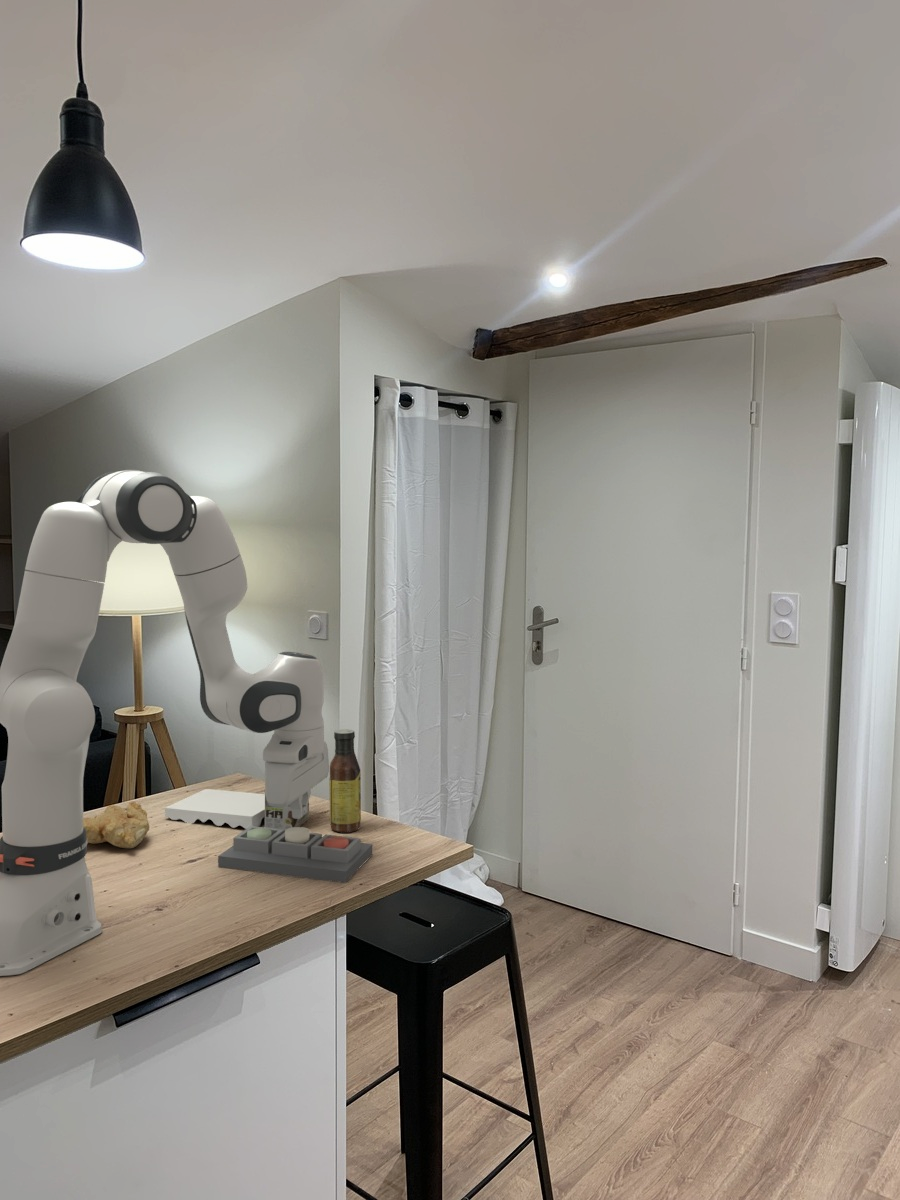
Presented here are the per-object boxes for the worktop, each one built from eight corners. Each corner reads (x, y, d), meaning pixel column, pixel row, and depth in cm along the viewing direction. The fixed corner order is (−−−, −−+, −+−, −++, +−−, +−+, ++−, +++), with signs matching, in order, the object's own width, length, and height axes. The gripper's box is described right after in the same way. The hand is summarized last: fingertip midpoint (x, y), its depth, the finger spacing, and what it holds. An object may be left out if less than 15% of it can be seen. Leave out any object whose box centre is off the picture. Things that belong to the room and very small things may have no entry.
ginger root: (112, 858, 163) (105, 812, 163) (55, 861, 171) (49, 818, 171) (179, 835, 176) (172, 794, 177) (123, 840, 184) (117, 800, 185)
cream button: (303, 848, 164) (303, 836, 164) (280, 845, 165) (280, 833, 165) (313, 840, 168) (313, 828, 168) (290, 837, 169) (291, 826, 169)
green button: (264, 849, 166) (264, 837, 166) (242, 846, 167) (242, 834, 167) (275, 841, 170) (275, 829, 170) (253, 838, 171) (253, 827, 171)
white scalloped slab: (165, 824, 188) (252, 833, 182) (164, 807, 187) (251, 816, 181) (205, 803, 202) (287, 811, 196) (205, 788, 202) (287, 796, 196)
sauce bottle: (366, 830, 184) (367, 732, 182) (338, 836, 180) (339, 736, 179) (350, 821, 189) (352, 726, 187) (323, 826, 186) (324, 729, 184)
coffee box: (294, 832, 182) (294, 752, 180) (263, 830, 183) (263, 750, 181) (310, 818, 190) (310, 741, 189) (280, 815, 192) (281, 739, 190)
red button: (343, 858, 162) (343, 846, 162) (319, 855, 163) (320, 843, 163) (351, 850, 166) (352, 838, 166) (329, 847, 168) (329, 835, 167)
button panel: (345, 882, 157) (345, 858, 157) (218, 866, 163) (218, 843, 163) (372, 854, 171) (372, 832, 170) (253, 840, 177) (253, 819, 176)
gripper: (305, 727, 176) (306, 797, 177) (257, 754, 156) (258, 833, 157) (336, 729, 174) (337, 800, 176) (292, 756, 155) (293, 836, 156)
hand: (299, 816), depth 166 cm, fingers closed
